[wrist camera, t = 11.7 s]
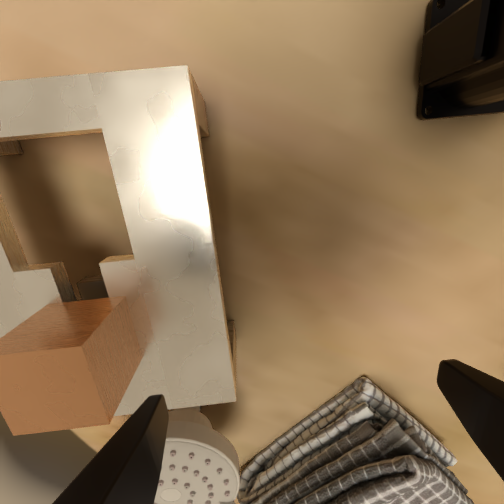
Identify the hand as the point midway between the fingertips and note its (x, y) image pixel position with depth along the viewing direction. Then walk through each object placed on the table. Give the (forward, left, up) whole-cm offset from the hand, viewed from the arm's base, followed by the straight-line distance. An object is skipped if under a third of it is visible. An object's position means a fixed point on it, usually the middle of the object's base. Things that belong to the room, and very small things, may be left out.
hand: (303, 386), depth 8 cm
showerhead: (+8, +14, -12) cm, 20 cm away
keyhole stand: (+10, -2, -12) cm, 16 cm away
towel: (-6, +23, -13) cm, 27 cm away
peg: (+10, +1, -10) cm, 14 cm away
